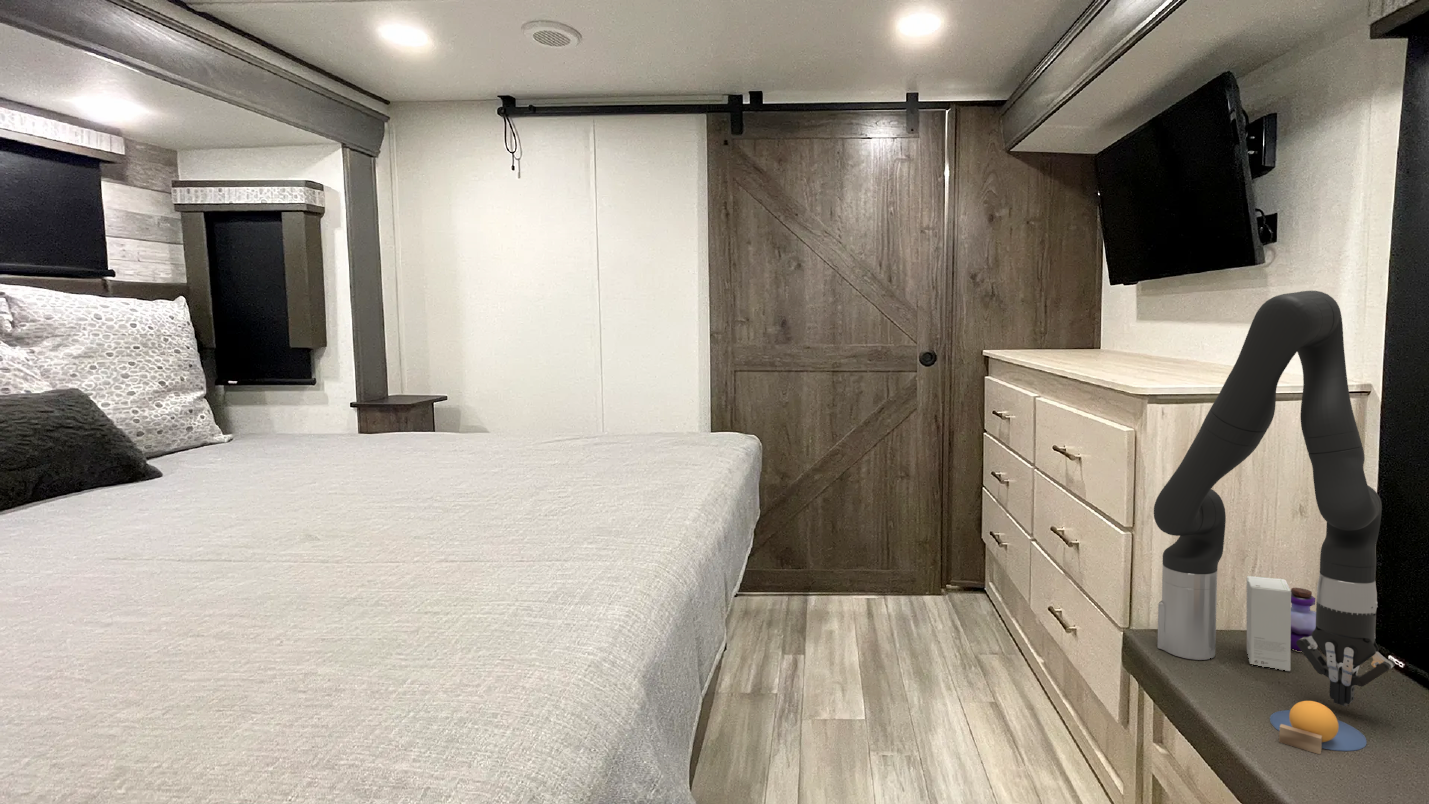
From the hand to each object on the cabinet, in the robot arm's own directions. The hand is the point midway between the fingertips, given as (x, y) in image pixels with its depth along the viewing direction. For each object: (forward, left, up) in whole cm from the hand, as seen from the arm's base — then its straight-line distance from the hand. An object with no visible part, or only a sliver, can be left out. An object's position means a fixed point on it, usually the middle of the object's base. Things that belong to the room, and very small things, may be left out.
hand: (1341, 703), depth 123 cm
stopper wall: (-3, -17, -2) cm, 17 cm away
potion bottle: (-10, +26, -2) cm, 28 cm away
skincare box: (-13, +15, -2) cm, 20 cm away
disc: (-2, -10, -2) cm, 10 cm away
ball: (-2, -13, +2) cm, 14 cm away
